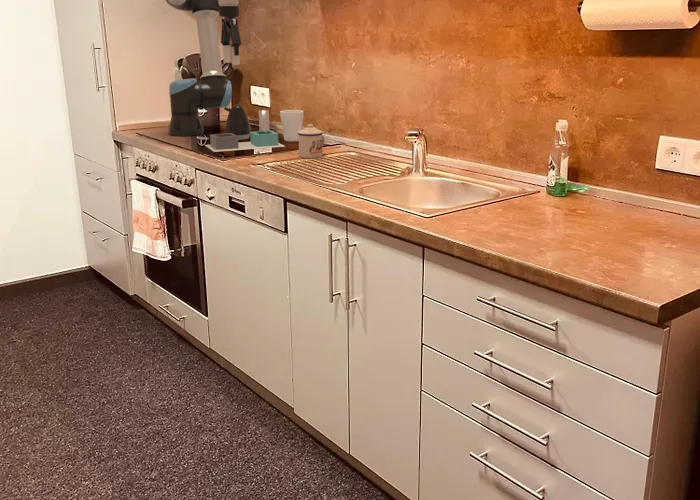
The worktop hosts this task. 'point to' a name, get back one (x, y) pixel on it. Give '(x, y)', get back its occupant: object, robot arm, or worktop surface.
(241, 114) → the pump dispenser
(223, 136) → the mount board
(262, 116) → the lock pin
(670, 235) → the worktop surface
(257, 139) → the socket
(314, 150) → the teacup with lid
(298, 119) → the foam cup
